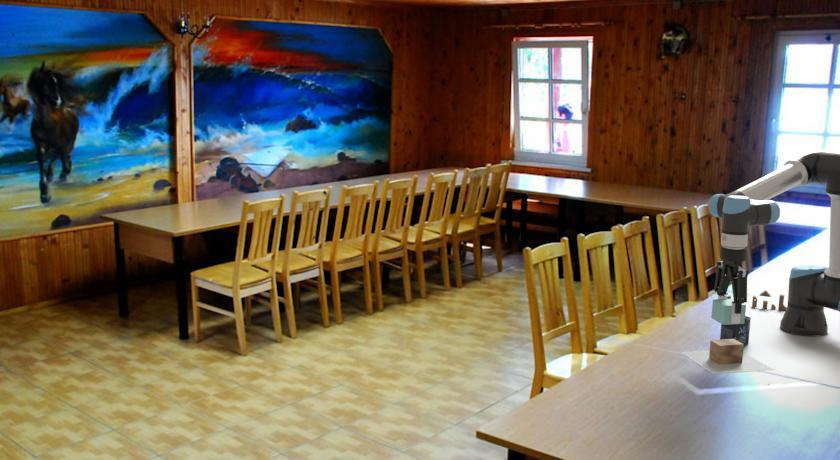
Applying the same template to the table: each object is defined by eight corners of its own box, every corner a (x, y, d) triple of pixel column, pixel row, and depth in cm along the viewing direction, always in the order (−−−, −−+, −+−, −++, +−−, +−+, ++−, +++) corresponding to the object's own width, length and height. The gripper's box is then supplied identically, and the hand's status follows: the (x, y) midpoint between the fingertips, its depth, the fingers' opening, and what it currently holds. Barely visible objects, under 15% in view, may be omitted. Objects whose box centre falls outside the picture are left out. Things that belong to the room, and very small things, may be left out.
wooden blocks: (809, 313, 309) (811, 294, 308) (809, 315, 306) (811, 296, 305) (726, 303, 322) (728, 284, 320) (725, 304, 319) (727, 286, 318)
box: (733, 351, 264) (735, 320, 262) (718, 347, 269) (721, 316, 267) (748, 347, 268) (751, 316, 266) (734, 343, 273) (736, 312, 271)
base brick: (732, 356, 256) (733, 338, 255) (742, 362, 251) (743, 344, 249) (709, 358, 254) (710, 340, 253) (718, 364, 249) (719, 345, 248)
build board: (736, 351, 264) (737, 348, 264) (773, 373, 245) (773, 369, 245) (680, 355, 261) (680, 352, 260) (712, 377, 241) (712, 374, 241)
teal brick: (732, 317, 254) (733, 298, 253) (744, 323, 247) (746, 304, 246) (711, 318, 253) (712, 299, 252) (723, 324, 246) (724, 305, 245)
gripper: (705, 240, 255) (700, 311, 259) (740, 254, 235) (734, 329, 240) (727, 240, 256) (722, 310, 260) (764, 253, 237) (758, 328, 241)
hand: (728, 319), depth 250 cm, fingers closed on teal brick, 7 cm apart
